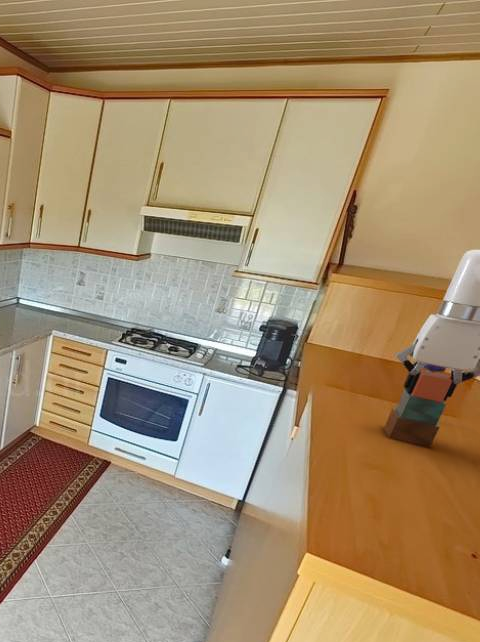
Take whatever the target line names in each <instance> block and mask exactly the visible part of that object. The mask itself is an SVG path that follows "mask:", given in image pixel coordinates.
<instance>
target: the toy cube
mask: <svg viewBox="0 0 480 642" xmlns="http://www.w3.org/2000/svg"><path fill="white" fill-rule="evenodd" d="M418 377H419V378H418V381H417V383H416V385H415V387H414V389H413V392H412V393H410V394H411V395H412V396H414V397H418V398H423V399H428V400H432V401H437V402H441V403H442V402H443V400H444V398H445V395H446V393H447V391H448V389H449V387H450V385H451V383H452V380H451V379H450V376H448V375H447V374H443V373H440V372H436V373H434V372H429V371H427V370H423V369H422V370H421V371H420V372H419V374H418Z"/></svg>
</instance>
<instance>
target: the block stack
mask: <svg viewBox="0 0 480 642" xmlns="http://www.w3.org/2000/svg"><path fill="white" fill-rule="evenodd" d="M446 406H447V403H446V401H443V402H442V403H441V402H437V401H432V400H428V399H423V398H418V397H414V396H412V395H411V394H410V393H407V392H406V390H405V389H404V390H403V391H402V394H401V397H400V398H399V401H398V403H397V406H396V408H394V407H392V408H391V411H390V413H389V416H388V418H387V419H386V422H385V425H384V427H383V428H384V430H385V432H386V435H387V436H388V438H389V439H391V440H396V441H399V442H403V443H407V444H410V445H411V444H412V445H415V446H420V447H423V448H427V449H430V448H431V446H432V445H433V442H434V440H435V438H436V436H437V434H438V432H439V430H440V428H441V427H440V426H439V424H438V423H439V421H440V418H441V416H442V415H443V412H444V411H445V408H446Z"/></svg>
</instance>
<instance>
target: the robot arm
mask: <svg viewBox="0 0 480 642" xmlns="http://www.w3.org/2000/svg"><path fill="white" fill-rule="evenodd" d="M408 356H410V357H411V358H412V359H413V360H414V362H413V363H412V362H411V361H410V359H409V358H408ZM395 357H396V358H397V359H398V360H399V361H400V362H401V363H402V365H403V366H404V368H405V369H406V370H407V371H408V374H407V377H406V379H405V382H404V383H403V388H404V390H406V392H407V393H412V392H413V389H414V387H415V385H416V383H417V381H418V378H419V377H418V374H419V372H420V371H421V370H423V369H424V368H423V367H424V366H425V365H426V364H430V365H435V366H440V367H445V368H446V369H450V373H449V374H450V376H449V378H450V379H451V380H452V383H451V385H450V387H449V389H448V391H447V393H446V395H445V398H444V400H443V401H444V402H446V401H447V400H448V398H451V397H452V396H453V394H454V391H455V390H456V388H457V386H458V385H460V384H461V383H463V382H466V381H468V380H471V379H473V378H477V377H480V249H470V250H467V251H466V252H465V253H464V254H463V255H462V257H461V258H460V261H459V263H458V266H457V267H456V270H455V272H454V274H453V276H452V279H451V281H450V284H449V286H448V288H447V290H446V293H445V294H444V297H443V299H442V301H441V303H440V306H439V308H438V310H437V312H436V314H433V313H431V314H430V315H429V316H428V318H427V319H426V320H425V322H424V324H423V325H422V327H421V328H420V330H419V332H418V333H417V335H416V337H415V339H414V340H413V343H412V344H411V345H409V346H407V347H405V348H404V349H402V350H400V351H398V352H396V353H395Z"/></svg>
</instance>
